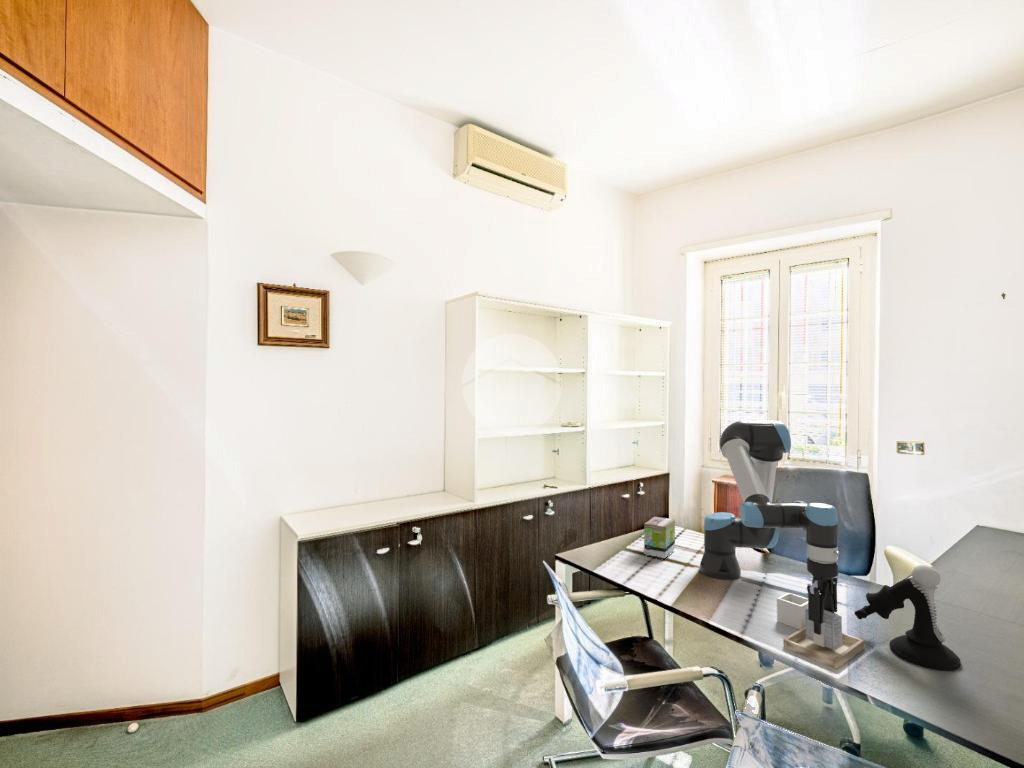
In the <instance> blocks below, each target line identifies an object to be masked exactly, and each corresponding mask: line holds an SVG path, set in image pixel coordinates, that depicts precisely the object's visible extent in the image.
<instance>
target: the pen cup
mask: <svg viewBox="0 0 1024 768" xmlns="http://www.w3.org/2000/svg"><path fill="white" fill-rule="evenodd" d="M807 608H808V597H803V596H801V595H798V594H794V593H791V592H787V593H785V594H783V595H781V596H779V597H777V598H776V621H777V623H780V624H784V625H786V626H790V627H792V628H794V629H797V630H800V629H801V628H803V627H805V626H806V623H805V609H807Z"/></svg>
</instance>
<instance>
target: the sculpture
mask: <svg viewBox="0 0 1024 768" xmlns="http://www.w3.org/2000/svg"><path fill="white" fill-rule="evenodd" d="M940 582H941V575H940V573H939V572H938V570H936V569H935V568H934V567H932V566H929V565H926V564H925V565H924V564H920V565H916V566H914V567H913V569H912V570H911V577H908V578H904V579H902V580H900V581H897V582H896V583H894V584H893V585H891V586H890V585H887V584H885V585H882V587H881V589H880V590H879V591H878V592H874V593H873V592H872V593H871V592H868V593H866V594H865V598H866V601H867V602H868V605H864V606H863V607H862V608H860V609H858V610H855V611H854V616H856V618H858V620H862V619H867V617H868V616H870V615H873V614H875V613H876V614H877V615H878V616H880V617H881V618H883V619H885V620H889V618H890V615H891V614H892V612H893V611H896V610H898V609H904V607H905V601H906V600H909V601H910V602H911V603H912V605H913V607H914V619H913V625H912V628H911V629H908V630H905V634H904V635H903V634H902V635H899V636H896V637H894V638H892V639H891V640H890V641H889V649H890V651H891V652H892V654H894V655H895V656H897V657H898V658H899V659H902V660H903V661H906V662H908V663H910V664H913V665H914V666H919V667H922V668H924V669H925V668H926V669H930V670H933V671H940V672H941V671H942V672H947V671H948V672H950V671H951V672H952V671H953V672H954V671H956V670H959V669H960V668H961V665H962V664H961V658H960V657H959V656H958V655H957V654H956V653H955V652H954V651H953V650H952V649H950V648H949V647H948V646H946V645H945V644H943V643H945V642H946V637H945V636H944V634H943V633H942V632H941V630H940V629H939V626H938V624H937V610H936V608H937V607H936V606H935V605H936V603H935V592H936V590H937V589H938V588H939V587H938V585H939V584H940Z"/></svg>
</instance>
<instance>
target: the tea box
mask: <svg viewBox="0 0 1024 768" xmlns="http://www.w3.org/2000/svg"><path fill="white" fill-rule="evenodd" d="M643 527H644V530H643V532H644V533H643V534H644V535H643V536H644V538H643V539H644V540H643V547H644V548H643V555H644V554H646V555H652V556H658V557H662V558H666V557H667V556H668V557H670V556H669V555H671V554H670V553H672V552H673V550H674V549H675V550H676V519H673V518H667V517H661V516H660V517H659V516H653V517H651V518H650V519H649V520H648V521H646V522H644V526H643ZM673 553H674V552H673ZM673 553H672V554H673ZM668 557H667V558H668ZM667 558H666V559H667Z"/></svg>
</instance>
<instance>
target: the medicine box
mask: <svg viewBox="0 0 1024 768" xmlns="http://www.w3.org/2000/svg"><path fill="white" fill-rule="evenodd" d="M834 613H835V612H834ZM834 613H832V612H829V611H826V610H824V614H823V623H825V647H827V648H830V649H832V650H836V649H838V648H840V647H842V633H843V624H842V622H843V619H842V618H843V617H842V616H841V615H839V614H838V613H835V614H834ZM805 623H806V638H807V639H809V640H811V641H813V621H811V620H809V618H808V608H807V609H805Z"/></svg>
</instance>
